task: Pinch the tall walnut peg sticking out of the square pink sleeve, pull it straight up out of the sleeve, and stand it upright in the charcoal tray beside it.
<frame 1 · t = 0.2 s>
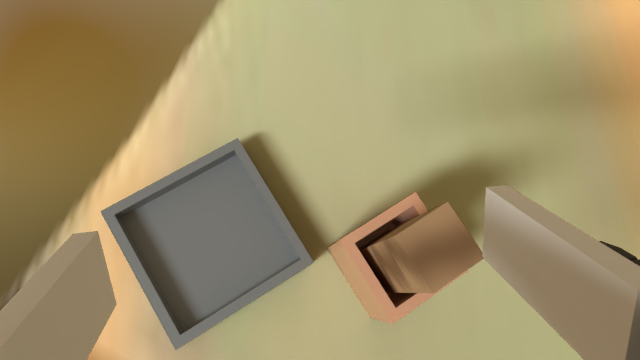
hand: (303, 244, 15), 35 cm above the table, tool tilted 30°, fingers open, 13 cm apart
charcoal tray: (212, 240, 49), on the table
walnut peg: (383, 260, 50), point 1 cm above the table, touching square pink sleeve
square pink sleeve: (380, 261, 51), on the table
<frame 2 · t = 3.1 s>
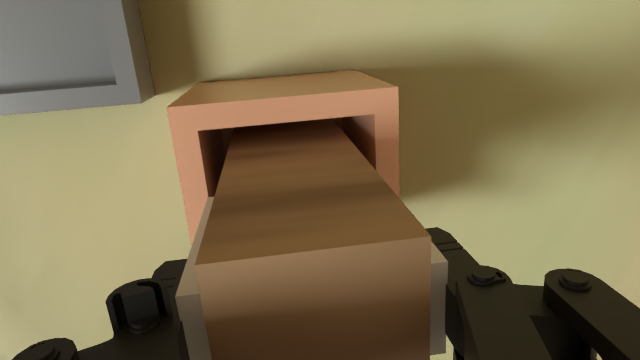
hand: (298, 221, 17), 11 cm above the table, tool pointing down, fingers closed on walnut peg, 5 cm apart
walnut peg: (285, 155, 26), point 1 cm above the table, touching gripper, square pink sleeve
square pink sleeve: (284, 151, 27), on the table
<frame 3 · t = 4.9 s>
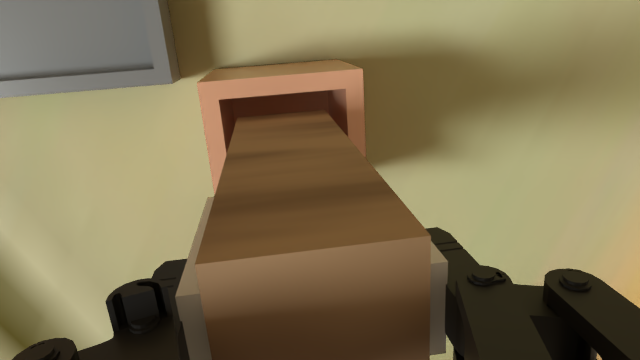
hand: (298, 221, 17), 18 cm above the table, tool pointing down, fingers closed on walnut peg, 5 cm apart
walnut peg: (285, 155, 26), point 8 cm above the table, touching gripper
square pink sleeve: (282, 124, 34), on the table
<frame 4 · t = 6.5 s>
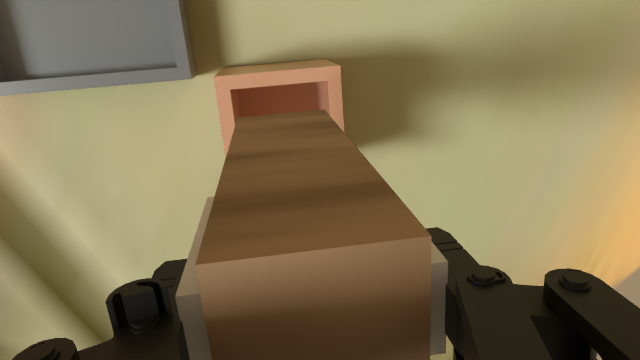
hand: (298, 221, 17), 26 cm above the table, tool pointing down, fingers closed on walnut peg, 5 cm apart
walnut peg: (285, 155, 26), point 16 cm above the table, touching gripper
square pink sleeve: (279, 112, 41), on the table
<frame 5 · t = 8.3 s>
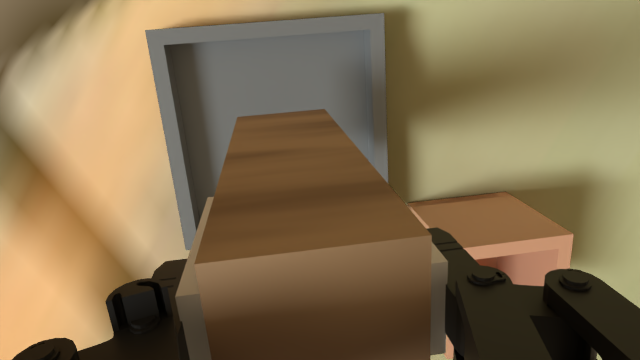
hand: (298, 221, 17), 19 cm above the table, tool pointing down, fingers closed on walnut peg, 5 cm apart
charcoal tray: (278, 129, 35), on the table
walnut peg: (285, 154, 26), point 9 cm above the table, touching gripper
square pink sleeve: (455, 243, 40), on the table
when the fingers open (12 cm above the table, at t = 9.8 s): walnut peg drops 1 cm, resting on charcoal tray.
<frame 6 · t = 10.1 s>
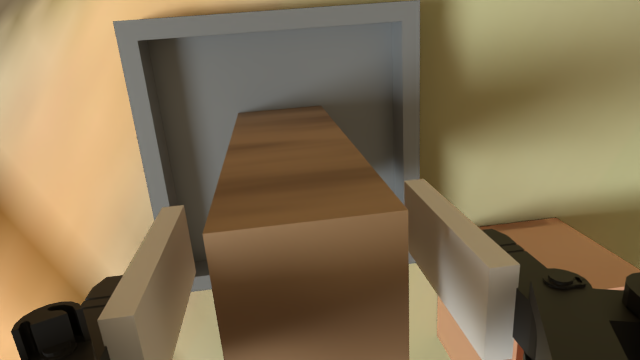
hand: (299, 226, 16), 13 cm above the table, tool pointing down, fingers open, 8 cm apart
charcoal tray: (283, 145, 28), on the table
walnut peg: (283, 149, 27), point 1 cm above the table, touching charcoal tray
square pink sleeve: (494, 278, 34), on the table
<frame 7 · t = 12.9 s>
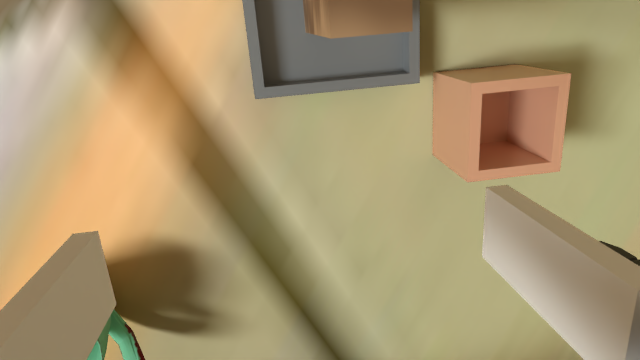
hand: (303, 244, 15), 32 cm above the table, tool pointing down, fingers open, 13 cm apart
charcoal tray: (328, 2, 42), on the table
mug: (105, 303, 51), on the table
walnut peg: (329, 2, 41), point 1 cm above the table, touching charcoal tray
square pink sleeve: (473, 110, 48), on the table
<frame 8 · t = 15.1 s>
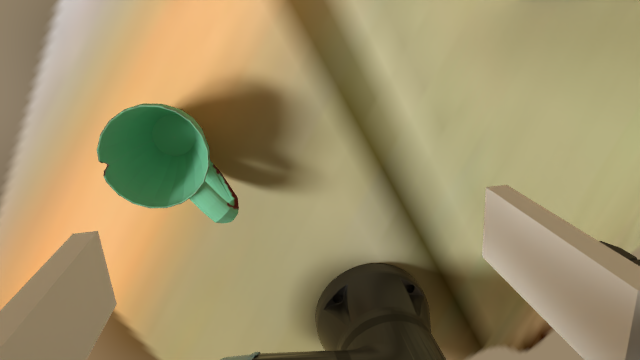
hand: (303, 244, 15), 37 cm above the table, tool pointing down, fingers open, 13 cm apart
mug: (191, 149, 50), on the table
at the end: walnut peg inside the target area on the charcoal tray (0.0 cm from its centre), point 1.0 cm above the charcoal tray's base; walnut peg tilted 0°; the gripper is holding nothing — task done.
